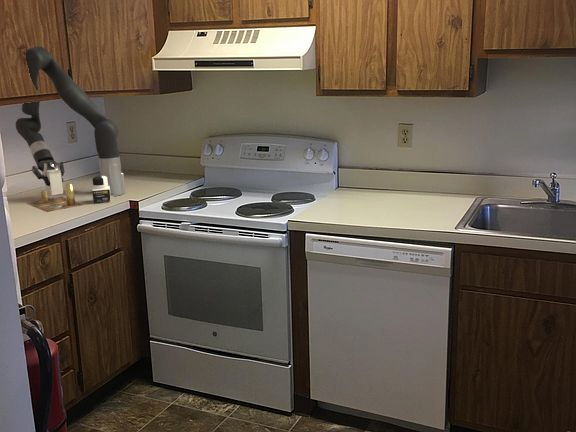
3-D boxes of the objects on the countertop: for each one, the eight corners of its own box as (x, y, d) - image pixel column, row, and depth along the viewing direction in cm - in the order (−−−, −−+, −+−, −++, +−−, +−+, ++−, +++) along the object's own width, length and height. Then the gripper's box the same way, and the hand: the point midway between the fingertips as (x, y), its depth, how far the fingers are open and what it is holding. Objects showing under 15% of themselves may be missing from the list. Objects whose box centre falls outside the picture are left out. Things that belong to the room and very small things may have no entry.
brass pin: (73, 203, 271) (70, 182, 269) (76, 204, 269) (74, 183, 267) (66, 205, 269) (63, 184, 267) (69, 206, 267) (66, 185, 265)
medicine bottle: (93, 206, 270) (90, 178, 267) (94, 203, 277) (90, 175, 274) (111, 205, 272) (108, 177, 269) (111, 201, 278) (108, 174, 275)
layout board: (62, 199, 287) (60, 185, 285) (85, 207, 269) (83, 193, 268) (25, 205, 277) (23, 191, 275) (47, 214, 259) (45, 199, 257)
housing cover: (57, 191, 284) (55, 169, 281) (63, 193, 280) (60, 170, 277) (46, 193, 281) (43, 170, 278) (52, 195, 276) (49, 172, 274)
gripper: (26, 150, 276) (40, 181, 271) (58, 146, 285) (73, 176, 280) (23, 161, 282) (37, 191, 276) (55, 156, 291) (69, 186, 285)
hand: (55, 183), depth 278 cm, fingers closed on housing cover, 5 cm apart
